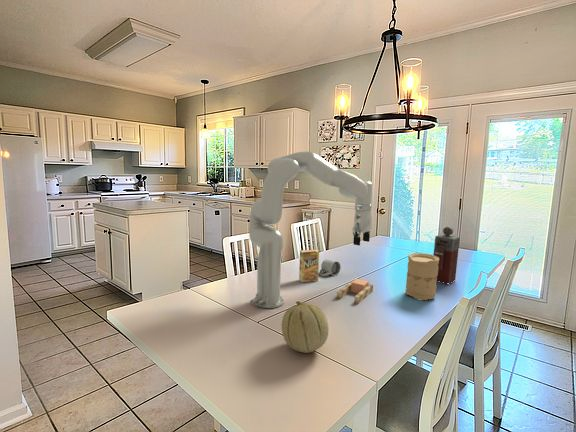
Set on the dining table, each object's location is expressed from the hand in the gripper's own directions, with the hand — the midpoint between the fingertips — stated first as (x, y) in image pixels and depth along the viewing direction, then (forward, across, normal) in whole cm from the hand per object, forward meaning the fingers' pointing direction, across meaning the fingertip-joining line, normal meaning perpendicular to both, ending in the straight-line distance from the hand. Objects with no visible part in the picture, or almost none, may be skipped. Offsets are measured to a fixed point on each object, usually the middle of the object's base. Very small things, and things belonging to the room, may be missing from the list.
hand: (361, 243), depth 157 cm
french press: (+22, +33, -30) cm, 49 cm away
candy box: (+20, -13, +21) cm, 32 cm away
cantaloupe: (+20, -64, -13) cm, 68 cm away
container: (+21, +6, -27) cm, 35 cm away
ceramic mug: (+21, +2, +19) cm, 28 cm away
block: (+20, -9, -4) cm, 23 cm away
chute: (+20, -14, -5) cm, 25 cm away
